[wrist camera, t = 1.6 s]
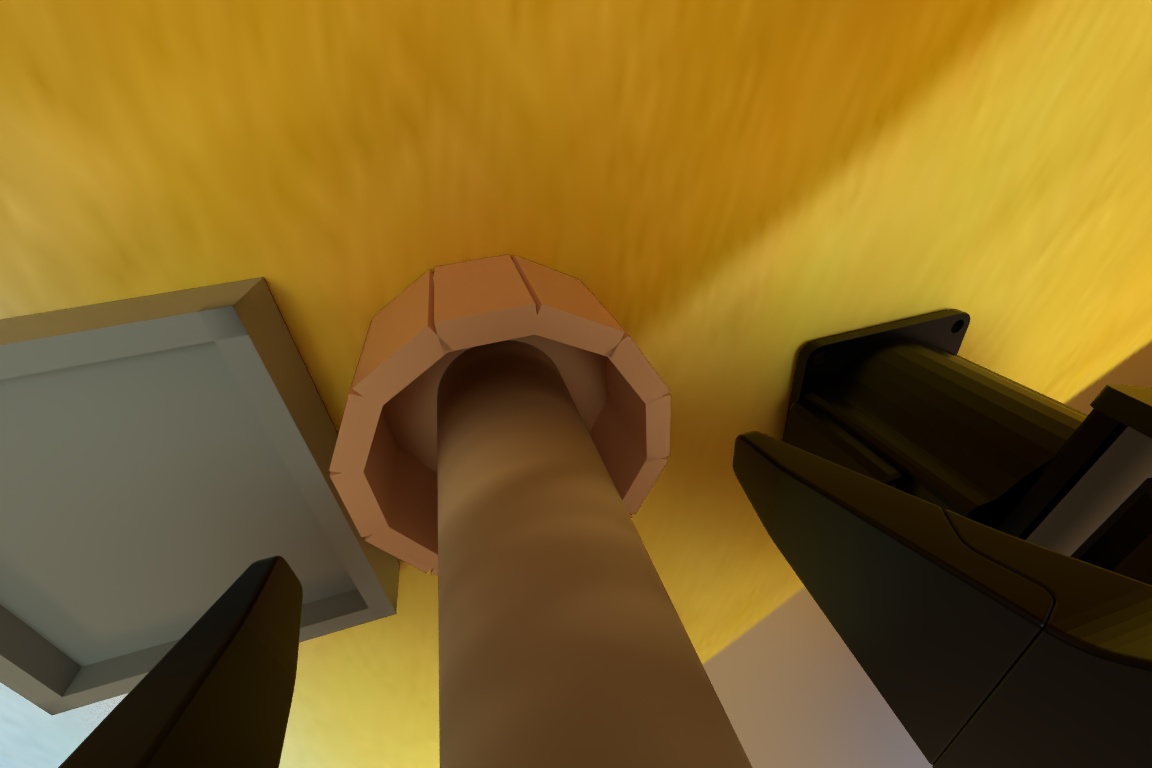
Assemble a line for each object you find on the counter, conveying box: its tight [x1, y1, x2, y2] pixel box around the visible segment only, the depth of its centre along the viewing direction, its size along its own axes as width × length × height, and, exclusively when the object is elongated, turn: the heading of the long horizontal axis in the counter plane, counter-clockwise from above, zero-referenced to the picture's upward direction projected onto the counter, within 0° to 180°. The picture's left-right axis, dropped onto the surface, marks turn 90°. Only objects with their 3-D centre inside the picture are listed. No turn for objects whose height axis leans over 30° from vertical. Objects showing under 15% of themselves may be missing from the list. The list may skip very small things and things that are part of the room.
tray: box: [0, 277, 400, 715], centre depth 11 cm, size 9×10×2 cm
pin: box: [437, 340, 752, 768], centre depth 8 cm, size 3×3×10 cm
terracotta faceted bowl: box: [329, 254, 671, 575], centre depth 11 cm, size 7×7×4 cm
